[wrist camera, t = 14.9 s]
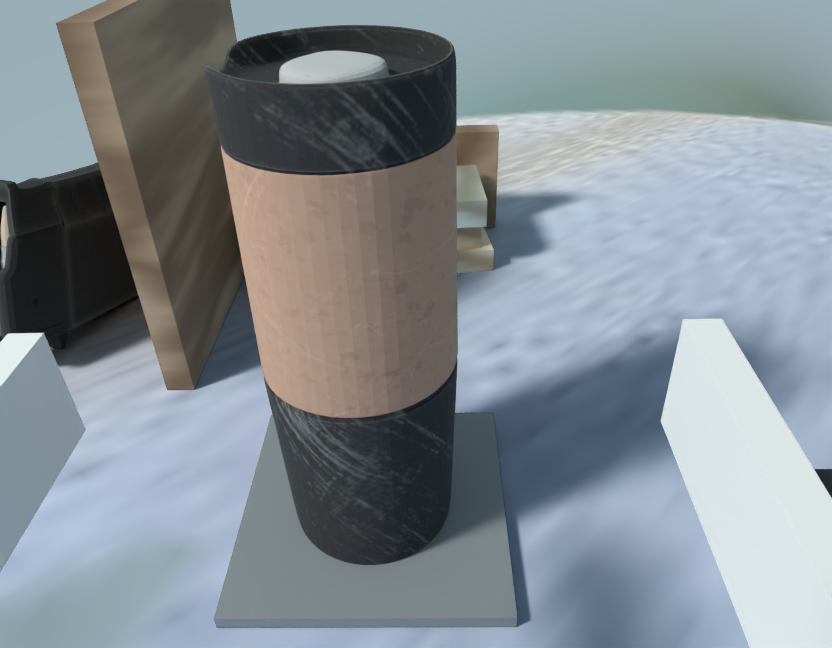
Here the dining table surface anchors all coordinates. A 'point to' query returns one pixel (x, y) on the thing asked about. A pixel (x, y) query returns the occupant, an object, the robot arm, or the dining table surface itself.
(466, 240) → the offcut stack
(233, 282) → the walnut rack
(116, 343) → the dining table surface
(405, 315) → the travel mug
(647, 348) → the dining table surface
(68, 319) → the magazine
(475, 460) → the grey mat
